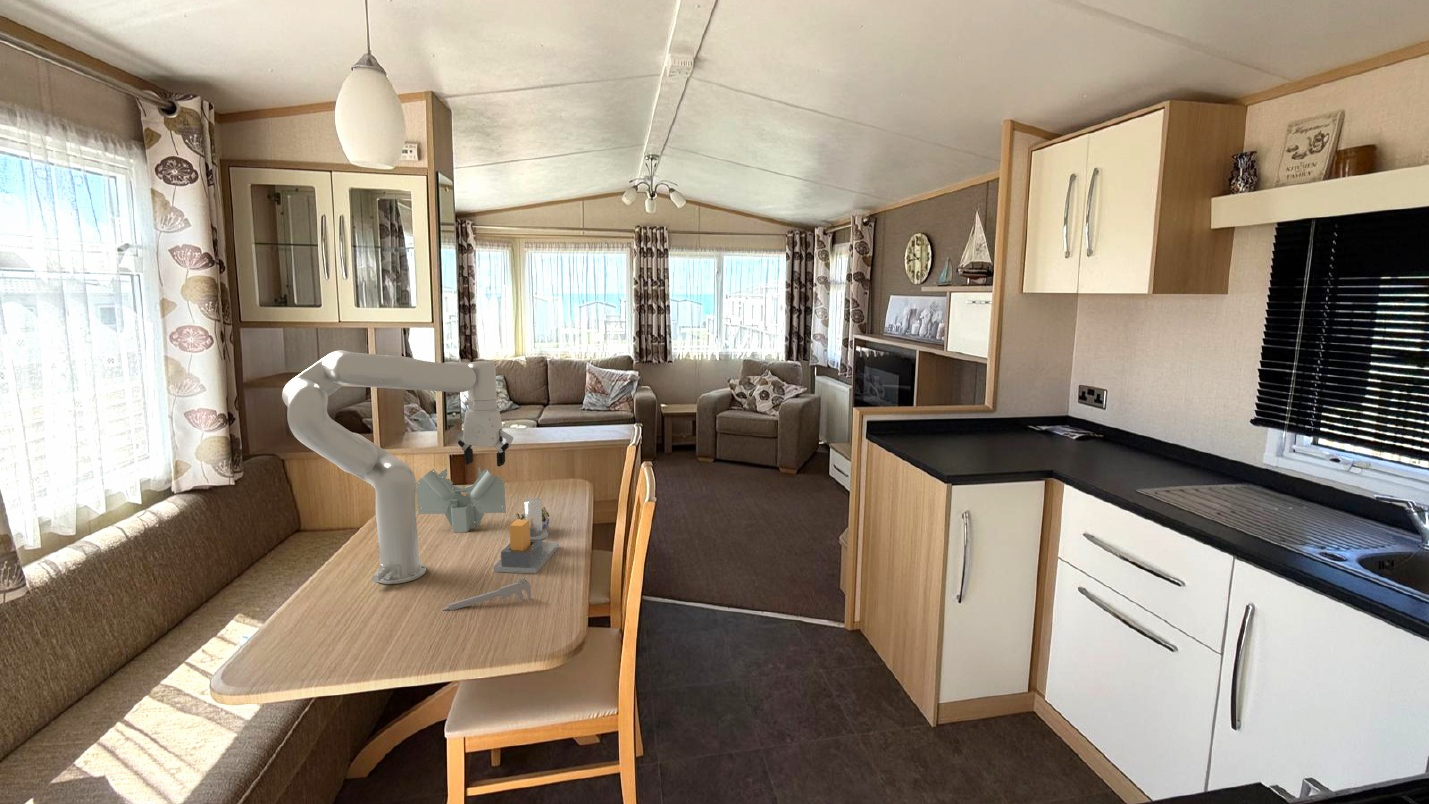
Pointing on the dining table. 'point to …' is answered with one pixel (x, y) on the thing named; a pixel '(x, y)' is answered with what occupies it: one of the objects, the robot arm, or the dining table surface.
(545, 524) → the passion flower
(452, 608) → the caliper
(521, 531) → the tan rectangular block
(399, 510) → the robot arm
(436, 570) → the dining table surface
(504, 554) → the gray socket post fixture
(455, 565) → the dining table surface
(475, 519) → the bracket
